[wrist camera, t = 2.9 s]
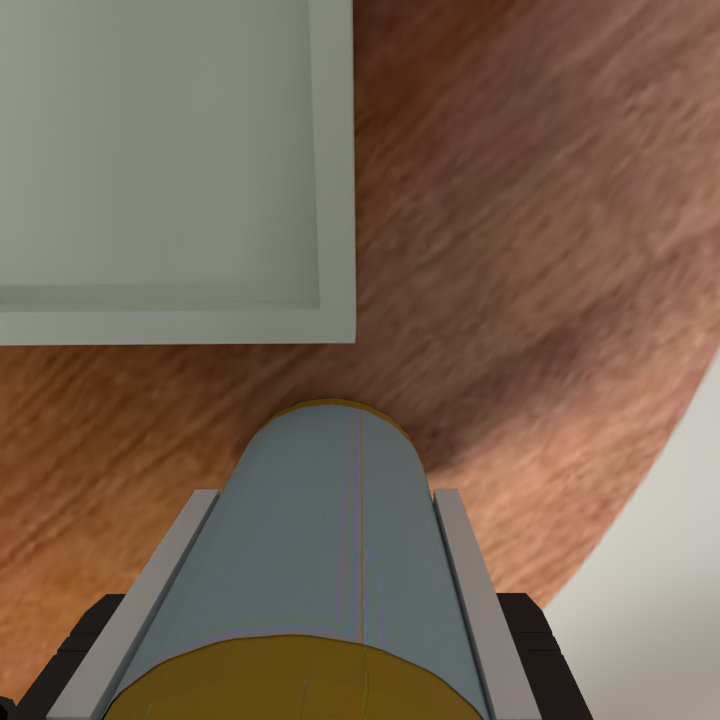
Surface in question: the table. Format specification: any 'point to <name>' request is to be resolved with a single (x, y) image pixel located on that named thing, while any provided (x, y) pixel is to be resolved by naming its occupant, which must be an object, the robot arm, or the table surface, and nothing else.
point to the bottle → (312, 588)
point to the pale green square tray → (177, 172)
